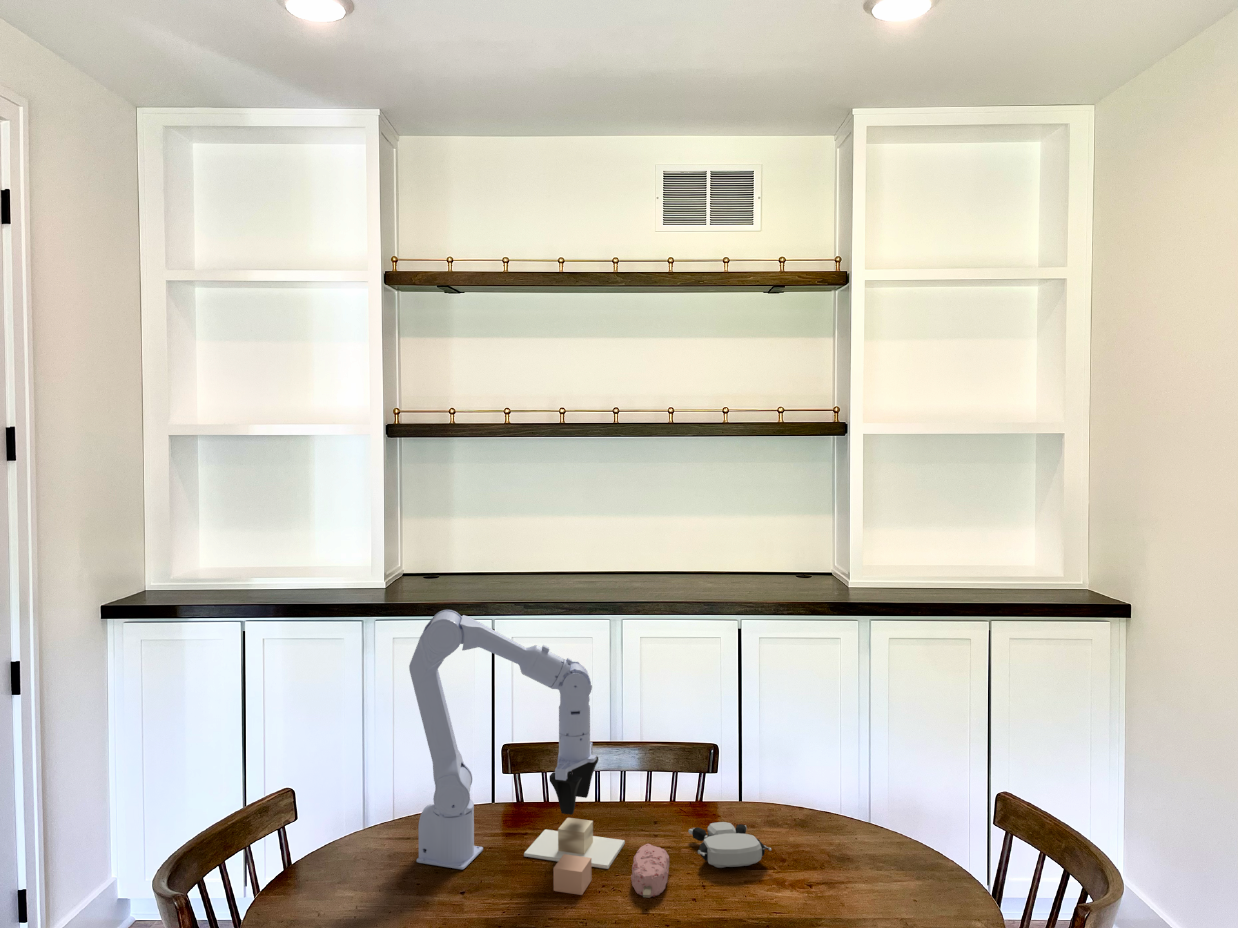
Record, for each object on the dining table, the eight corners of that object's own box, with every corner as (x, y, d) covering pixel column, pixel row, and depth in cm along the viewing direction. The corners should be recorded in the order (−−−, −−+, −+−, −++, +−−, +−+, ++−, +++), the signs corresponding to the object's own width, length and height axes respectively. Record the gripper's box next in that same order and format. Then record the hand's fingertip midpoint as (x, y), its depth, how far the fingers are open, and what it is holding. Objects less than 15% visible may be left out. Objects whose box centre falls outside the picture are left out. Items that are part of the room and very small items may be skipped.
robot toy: (685, 844, 161) (704, 878, 146) (684, 820, 161) (703, 851, 146) (747, 839, 163) (773, 872, 148) (747, 815, 163) (772, 845, 148)
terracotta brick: (553, 891, 142) (553, 867, 142) (564, 876, 147) (563, 853, 147) (581, 895, 141) (581, 871, 141) (591, 880, 146) (591, 857, 146)
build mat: (524, 856, 154) (524, 852, 154) (545, 832, 164) (545, 829, 164) (608, 868, 150) (608, 865, 150) (624, 843, 159) (624, 840, 159)
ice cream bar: (626, 883, 137) (635, 839, 152) (627, 909, 137) (636, 862, 152) (665, 884, 137) (670, 840, 151) (666, 910, 137) (671, 863, 151)
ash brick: (558, 850, 155) (558, 828, 155) (567, 838, 160) (567, 817, 160) (584, 854, 154) (584, 832, 154) (593, 841, 158) (592, 820, 158)
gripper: (581, 746, 148) (582, 824, 148) (607, 720, 162) (607, 791, 162) (543, 742, 150) (544, 818, 151) (572, 717, 164) (573, 787, 164)
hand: (574, 804), depth 157 cm, fingers open, 7 cm apart
